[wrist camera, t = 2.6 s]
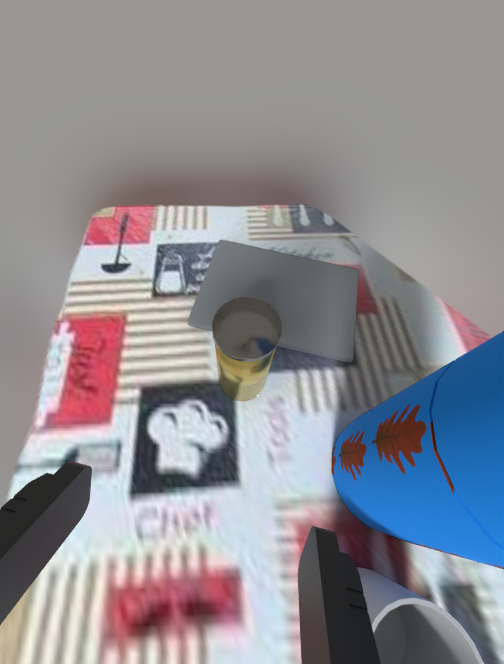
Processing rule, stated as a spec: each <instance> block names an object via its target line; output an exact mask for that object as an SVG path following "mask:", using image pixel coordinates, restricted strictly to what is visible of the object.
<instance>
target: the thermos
mask: <svg viewBox="0 0 504 664" xmlns="http://www.w3.org/2000/svg"><path fill="white" fill-rule="evenodd" d="M332 475H333V479H334V482H335V485H336V489H337V492H338V494H339V496H340V497H341V499H342V500H343V502H344V503H345V505H346V506H347V508H348V509H349V511H350V512H351V513H352V514H353V515H354V516H356V517H357V518H358V519H359V520H360V521H362V522H363V523H364V524H365V525H366V526H368V527H371V528H373V529H376V530H378V531H381V532H383V533H385V534H388V535H391V536H393V537H396V538H399V539H401V540H404V541H406V542H409V543H413V544H416V545H420V546H423V547H427V548H430V549H434V550H437V551H441V552H445V553H448V554H452V555H455V556H459V557H462V558H466V559H470V560H473V561H477V562H480V563H484V564H487V565H491V566H495V567H498V568H502V569H504V331H503V332H502V333H500V334H498V335H496V336H495V337H493V338H491V339H490V340H488V341H486V342H484V343H483V344H481V345H479V346H478V347H476V348H474V349H473V350H471V351H469V352H468V353H466V354H464V355H462V356H461V357H459V358H457V359H456V360H454V361H452V362H451V363H449V364H447V365H446V366H444V367H442V368H440V369H439V370H437V371H435V372H434V373H432V374H430V375H429V376H427V377H425V378H424V379H422V380H420V381H418V382H417V383H415V384H413V385H412V386H410V387H408V388H407V389H405V390H403V391H401V392H400V393H398V394H396V395H395V396H393V397H391V398H390V399H388V400H386V401H385V402H383V403H381V404H379V405H378V406H376V407H374V408H373V409H371V410H369V411H368V412H366V413H364V414H363V415H361V416H360V417H359V418H357V419H356V420H355V421H353V422H352V423H351V424H350V425H349V426H348V427H347V428H346V429H345V430H344V431H343V432H342V433H341V434H340V435H339V436H338V438H337V441H336V444H335V446H334V449H333V451H332Z"/></svg>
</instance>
